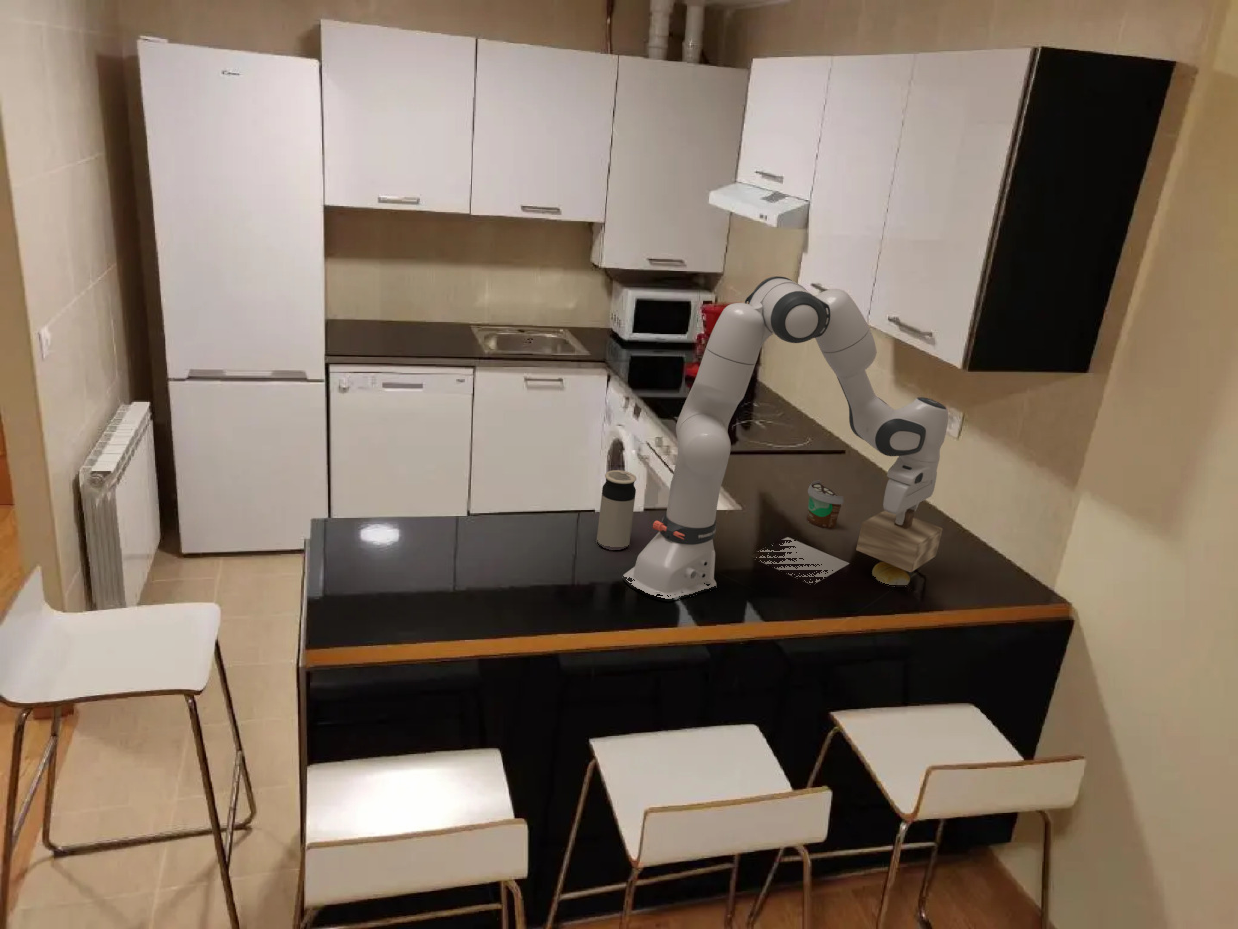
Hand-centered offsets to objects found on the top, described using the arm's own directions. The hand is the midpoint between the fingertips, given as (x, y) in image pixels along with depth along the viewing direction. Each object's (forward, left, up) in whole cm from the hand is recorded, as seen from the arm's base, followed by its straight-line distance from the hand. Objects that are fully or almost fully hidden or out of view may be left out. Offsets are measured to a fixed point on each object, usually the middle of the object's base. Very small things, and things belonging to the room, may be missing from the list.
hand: (903, 521), depth 217 cm
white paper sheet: (-11, +19, -15) cm, 27 cm away
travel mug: (-42, +53, -15) cm, 69 cm away
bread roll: (0, 0, -16) cm, 16 cm away
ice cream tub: (+14, +29, -15) cm, 36 cm away
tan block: (0, 0, -8) cm, 8 cm away
